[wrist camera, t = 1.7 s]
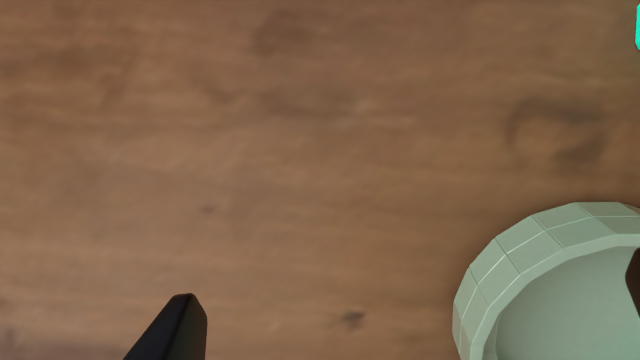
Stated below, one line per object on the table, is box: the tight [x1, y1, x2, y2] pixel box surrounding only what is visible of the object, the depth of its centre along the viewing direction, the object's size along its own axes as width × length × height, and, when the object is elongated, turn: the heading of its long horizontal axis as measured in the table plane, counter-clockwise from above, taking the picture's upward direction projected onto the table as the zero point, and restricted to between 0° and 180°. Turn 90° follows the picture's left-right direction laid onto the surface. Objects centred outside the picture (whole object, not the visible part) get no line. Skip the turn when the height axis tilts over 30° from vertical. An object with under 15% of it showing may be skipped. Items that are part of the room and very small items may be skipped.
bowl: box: [452, 202, 640, 360], centre depth 23 cm, size 13×13×4 cm
